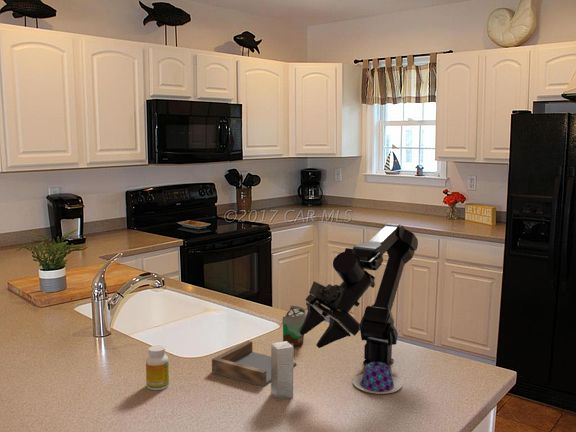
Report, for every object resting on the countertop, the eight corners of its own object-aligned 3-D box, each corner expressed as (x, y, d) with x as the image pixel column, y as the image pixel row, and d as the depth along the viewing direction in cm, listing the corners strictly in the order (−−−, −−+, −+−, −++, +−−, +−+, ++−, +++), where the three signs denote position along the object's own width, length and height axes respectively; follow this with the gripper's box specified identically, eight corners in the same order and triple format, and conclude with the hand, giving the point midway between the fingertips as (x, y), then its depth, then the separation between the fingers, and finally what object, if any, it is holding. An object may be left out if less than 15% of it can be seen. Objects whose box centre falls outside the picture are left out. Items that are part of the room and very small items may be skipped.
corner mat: (296, 364, 153) (296, 362, 153) (262, 386, 139) (262, 384, 139) (248, 352, 161) (248, 350, 161) (212, 372, 147) (212, 370, 147)
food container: (303, 352, 162) (303, 318, 160) (282, 350, 163) (282, 317, 161) (310, 337, 174) (310, 306, 172) (290, 336, 175) (290, 304, 173)
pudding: (362, 372, 149) (362, 353, 148) (407, 381, 144) (407, 361, 143) (345, 390, 138) (346, 369, 138) (393, 400, 133) (394, 379, 132)
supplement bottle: (168, 390, 137) (167, 351, 136) (145, 391, 136) (144, 352, 135) (169, 380, 142) (168, 343, 141) (147, 382, 141) (146, 344, 140)
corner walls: (296, 362, 153) (296, 352, 152) (262, 384, 139) (262, 372, 139) (248, 350, 161) (248, 340, 160) (212, 370, 147) (211, 359, 147)
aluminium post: (286, 390, 137) (286, 341, 135) (293, 397, 133) (293, 346, 132) (271, 393, 136) (271, 343, 134) (277, 400, 132) (277, 349, 130)
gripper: (313, 262, 144) (272, 309, 141) (349, 278, 127) (304, 332, 124) (339, 289, 148) (300, 335, 145) (378, 309, 131) (335, 361, 128)
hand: (309, 340), depth 135 cm, fingers open, 9 cm apart
